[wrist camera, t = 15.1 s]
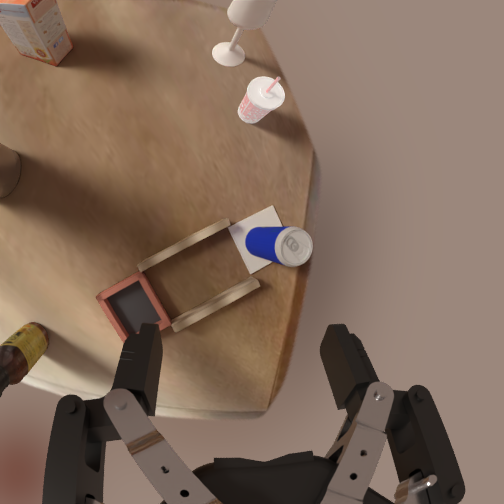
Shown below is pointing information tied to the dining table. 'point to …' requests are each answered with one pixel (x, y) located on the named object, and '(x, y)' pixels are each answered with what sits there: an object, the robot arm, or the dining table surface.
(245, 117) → the beverage cup
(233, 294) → the channel
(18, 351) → the sauce bottle
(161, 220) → the dining table surface
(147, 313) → the box
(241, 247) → the mat
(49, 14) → the cracker box
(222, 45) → the champagne flute
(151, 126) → the dining table surface
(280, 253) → the beverage can
